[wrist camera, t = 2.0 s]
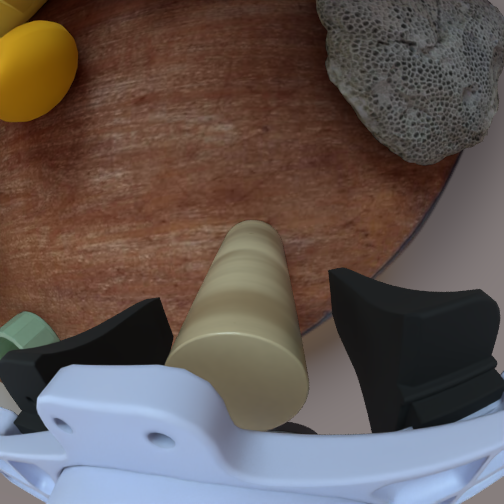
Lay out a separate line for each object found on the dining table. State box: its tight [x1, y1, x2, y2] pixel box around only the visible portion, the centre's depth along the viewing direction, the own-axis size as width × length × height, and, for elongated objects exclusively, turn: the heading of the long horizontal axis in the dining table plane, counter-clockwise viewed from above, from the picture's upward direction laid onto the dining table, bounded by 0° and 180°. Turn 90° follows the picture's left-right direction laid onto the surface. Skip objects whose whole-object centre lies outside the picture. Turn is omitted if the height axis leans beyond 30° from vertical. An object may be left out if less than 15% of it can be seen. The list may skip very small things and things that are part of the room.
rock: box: [316, 0, 504, 165], centre depth 12 cm, size 15×16×5 cm
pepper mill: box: [164, 220, 309, 431], centre depth 13 cm, size 4×4×13 cm
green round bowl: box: [0, 311, 60, 359], centre depth 21 cm, size 8×8×4 cm
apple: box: [0, 20, 78, 122], centre depth 12 cm, size 8×8×8 cm
